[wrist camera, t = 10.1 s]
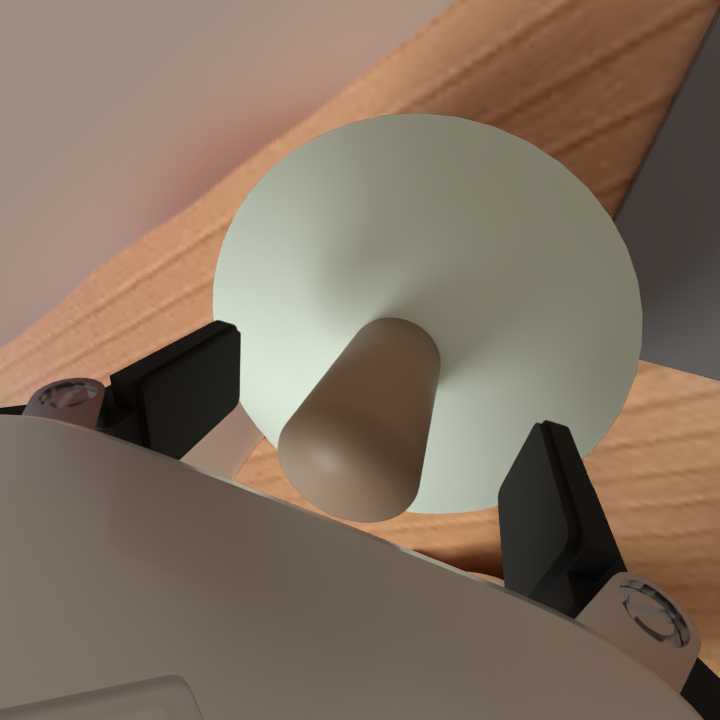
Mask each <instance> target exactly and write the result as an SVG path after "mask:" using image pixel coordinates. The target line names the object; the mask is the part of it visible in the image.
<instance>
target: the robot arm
mask: <svg viewBox="0 0 720 720" xmlns="http://www.w3.org/2000/svg"><path fill="white" fill-rule="evenodd" d="M240 357H241V333H240V331H239V330H237V327H236V326H235V325H234V324H231V323H227V322H224V321H221V320H216V321H214V322H212V323H210V324H208V325H206V326H204V327H202V328H200V329H198V330H196V331H194V332H193V333H191V334H189V335H187V336H185V337H183V338H181V339H179V340H177V341H175V342H173V343H172V344H170V345H168V346H166V347H164V348H162V349H160V350H158V351H156V352H154V353H152V354H151V355H149V356H147V357H145V358H143V359H141V360H139V361H137V362H135V363H133V364H131V365H130V366H128V367H126V368H124V369H122V370H120V371H118V372H116V373H114V374H112V375H110V380H111V385H109V386H108V387H106V388H105V386H104V385H103V384H102V383H101V382H99V381H97V380H94V379H89V378H71V379H64V380H60V381H56V382H53V383H51V384H48V385H46V386H43V387H42V388H40V389H39V390H37V391H36V392H35V393H34V394H33V395H32V397H31V398H30V400H29V402H28V404H27V405H21V406H12V407H4V408H0V720H720V678H719V677H718V676H717V675H716V674H715V673H714V672H713V671H712V670H710V669H709V668H708V667H707V666H706V665H705V664H704V663H703V662H702V661H701V660H700V659H699V658H698V655H699V652H700V645H701V641H700V638H699V635H698V631H697V629H696V627H695V625H694V624H693V622H692V620H691V619H690V617H689V616H688V614H687V613H686V612H685V611H684V609H683V608H682V607H681V606H680V604H679V603H678V602H677V601H676V600H675V599H673V598H672V597H671V596H670V595H669V594H668V593H667V592H666V591H665V590H663V589H662V588H661V587H659V586H658V585H656V584H655V583H654V582H652V581H650V580H648V579H646V578H644V577H642V576H640V575H637V574H634V573H630V572H627V569H626V567H625V564H624V562H623V559H622V557H621V554H620V552H619V549H618V547H617V544H616V542H615V539H614V537H613V534H612V532H611V529H610V527H609V524H608V522H607V519H606V517H605V514H604V512H603V509H602V507H601V504H600V502H599V499H598V497H597V494H596V492H595V489H594V488H593V486H592V484H591V482H590V479H589V477H588V474H587V472H586V469H585V467H584V464H583V462H582V459H581V457H580V454H579V452H578V449H577V447H576V444H575V442H574V439H573V437H572V434H571V432H570V429H569V428H568V427H567V426H565V425H561V424H558V423H555V422H552V421H548V420H545V421H543V422H542V424H541V423H538V422H537V423H535V424H534V426H533V428H532V429H531V431H530V433H529V435H528V437H527V439H526V441H525V442H524V444H523V446H522V448H521V450H520V452H519V453H518V455H517V457H516V459H515V461H514V463H513V465H512V466H511V468H510V470H509V472H508V474H507V476H506V477H505V479H504V481H503V483H502V485H501V487H500V489H499V493H498V510H499V523H500V535H501V548H502V560H503V573H504V586H505V587H502V586H500V585H497V584H495V583H492V582H490V581H488V580H485V579H483V578H480V577H478V576H475V575H473V574H470V573H468V572H465V571H463V570H460V569H458V568H456V567H453V566H451V565H448V564H446V563H443V562H441V561H438V560H435V559H433V558H430V557H428V556H425V555H423V554H420V553H418V552H415V551H412V550H410V549H407V548H405V547H402V546H400V545H397V544H395V543H392V542H389V541H387V540H384V539H382V538H379V537H377V536H374V535H372V534H369V533H367V532H364V531H361V530H359V529H356V528H354V527H351V526H349V525H346V524H343V523H341V522H338V521H336V520H333V519H331V518H328V517H325V516H323V515H320V514H318V513H315V512H312V511H310V510H307V509H305V508H302V507H299V506H297V505H294V504H292V503H289V502H287V501H284V500H281V499H279V498H276V497H273V496H271V495H268V494H266V493H263V492H260V491H258V490H255V489H253V488H250V487H247V486H245V485H242V484H240V483H237V482H234V481H232V480H229V479H226V478H224V477H221V476H219V475H216V474H213V473H211V472H208V471H205V470H203V469H200V468H197V467H195V466H192V465H189V464H187V463H184V462H182V461H179V460H180V459H181V458H183V457H184V456H185V455H186V454H187V453H188V452H189V451H190V450H191V449H192V448H193V447H194V446H195V445H196V444H197V443H199V442H200V441H201V440H202V439H203V438H204V437H205V436H206V435H207V434H208V433H209V432H210V431H211V430H212V429H214V428H215V427H216V426H217V425H218V424H219V423H220V422H221V421H222V420H223V419H224V418H225V417H226V416H227V415H228V414H230V413H231V412H232V411H233V410H234V409H235V408H236V406H237V405H238V403H239V399H240Z"/></svg>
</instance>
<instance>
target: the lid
mask: <svg viewBox="0 0 720 720" xmlns="http://www.w3.org/2000/svg"><path fill="white" fill-rule="evenodd" d="M213 317H214V321H216V320H221V321H224V322H227V323H231V324H234V325H235V326H236V327H237V330H239V331H240V333H241V357H240V399H239V401H240V402H241V404H242V406H243V408H244V409H245V411H246V412H247V414H248V415H249V417H250V418H251V419H252V421H253V422H254V423H255V425H256V426H257V428H258V429H259V430H260V431H261V432H262V433H263V434H264V436H265V437H266V438H267V439H268V440H269V441H270V442H271V443H272V444H273V445H274V446H275V447H276V448H277V449H278V456H279V461H280V464H281V467H282V469H283V472H284V474H285V475H286V477H287V479H288V480H289V482H290V483H291V485H292V486H293V487H294V488H295V489H296V490H297V492H298V493H299V494H300V495H301V496H303V497H304V498H305V499H306V500H307V501H309V502H310V503H311V504H313V505H314V506H316V507H317V508H319V509H321V510H322V511H324V512H326V513H328V514H331V515H333V516H335V517H338V518H341V519H345V520H349V521H355V522H366V523H370V522H380V521H385V520H388V519H392V518H394V517H396V516H398V515H400V514H401V513H403V512H404V511H408V512H415V513H432V514H448V513H463V512H470V511H476V510H482V509H488V508H492V507H495V506H498V493H499V489H500V487H501V485H502V483H503V481H504V479H505V477H506V476H507V474H508V472H509V470H510V468H511V466H512V465H513V463H514V461H515V459H516V457H517V455H518V453H519V452H520V450H521V448H522V446H523V444H524V442H525V441H526V439H527V437H528V435H529V433H530V431H531V429H532V428H533V426H534V424H535V423H537V422H538V423H541V424H542V422H543V421H545V420H548V421H552V422H555V423H558V424H561V425H565V426H567V427H568V428H569V429H570V432H571V434H572V437H573V439H574V442H575V444H576V447H577V449H578V452H579V454H580V457H581V459H583V458H585V457H586V456H587V455H588V454H589V453H590V452H591V451H592V450H593V449H594V448H595V447H596V446H597V444H598V443H599V442H600V440H601V439H602V438H603V437H604V435H605V434H606V433H607V432H608V430H609V429H610V428H611V426H612V425H613V423H614V421H615V419H616V418H617V416H618V414H619V412H620V411H621V409H622V407H623V405H624V404H625V402H626V399H627V397H628V394H629V391H630V389H631V386H632V383H633V381H634V378H635V375H636V371H637V366H638V361H639V356H640V351H641V346H642V317H643V313H642V306H641V299H640V292H639V285H638V280H637V277H636V274H635V271H634V267H633V264H632V261H631V258H630V255H629V252H628V249H627V247H626V245H625V243H624V241H623V239H622V237H621V236H620V234H619V232H618V230H617V228H616V226H615V224H614V222H613V221H612V219H611V217H610V216H609V214H608V213H607V212H606V210H605V209H604V208H603V206H602V205H601V204H600V203H599V201H598V200H597V199H596V197H595V196H594V195H593V194H592V192H591V191H590V190H589V188H588V187H587V186H585V185H584V184H583V183H582V182H581V181H580V180H579V179H578V178H577V177H576V176H575V175H574V174H572V173H571V172H570V171H569V170H568V169H567V168H566V167H565V166H564V165H563V164H562V163H560V162H559V161H557V160H556V159H554V158H553V157H551V156H550V155H548V154H547V153H545V152H544V151H542V150H541V149H539V148H538V147H536V146H534V145H533V144H531V143H530V142H528V141H526V140H524V139H521V138H519V137H517V136H515V135H512V134H510V133H508V132H506V131H503V130H501V129H499V128H496V127H494V126H491V125H487V124H483V123H479V122H475V121H472V120H468V119H464V118H460V117H455V116H444V115H434V114H423V113H415V114H400V115H384V116H380V117H375V118H371V119H366V120H362V121H357V122H353V123H349V124H347V125H344V126H342V127H339V128H337V129H334V130H332V131H329V132H327V133H324V134H322V135H319V136H318V137H316V138H314V139H313V140H311V141H309V142H308V143H306V144H304V145H302V146H301V147H299V148H297V149H296V150H294V151H292V152H291V153H290V154H289V155H288V156H286V157H285V158H284V159H283V160H281V161H280V162H279V163H278V164H277V165H275V166H274V167H273V168H272V169H271V170H269V171H268V173H267V174H266V175H265V176H264V177H263V178H262V179H261V180H260V182H259V183H258V184H257V185H256V186H255V187H254V188H253V189H252V190H251V192H250V193H249V195H248V196H247V198H246V199H245V201H244V202H243V204H242V205H241V207H240V208H239V210H238V211H237V213H236V215H235V217H234V219H233V221H232V223H231V225H230V227H229V230H228V232H227V234H226V236H225V238H224V242H223V245H222V248H221V251H220V255H219V258H218V261H217V267H216V273H215V279H214V286H213Z"/></svg>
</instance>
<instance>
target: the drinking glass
mask: <svg viewBox="0 0 720 720" xmlns="http://www.w3.org/2000/svg"><path fill="white" fill-rule="evenodd" d="M263 438H264V434H263V433H262V432H261V431H260V430H259V429H258V428H257V426H256V425H255V423H254V422H253V421H252V419H251V418H250V417H249V415H248V414H247V412H246V411H245V409H244V408H243V406H242V404H241V402H240V401H239V403H238V405H237V406H236V408H235V409H234V410H233V411H232V412H231V413H230V414H228V415H227V416H226V417H225V418H224V419H223V420H222V421H221V422H220V423H219V424H218V425H217V426H216V427H215V428H214V429H212V430H211V431H210V432H209V433H208V434H207V435H206V436H205V437H204V438H203V439H202V440H201V441H200V442H199V443H197V444H196V445H195V446H194V447H193V448H192V449H191V450H190V451H189V452H188V453H187V454H186V455H185V456H184V457H183V458H181V459H180V460H179V461H182V462H184V463H187V464H189V465H192V466H195V467H197V468H200V469H203V470H205V471H208V472H211V473H213V474H216V475H219V476H221V477H224V478H226V479H229V480H232V481H233V480H234V479H235V477H236V476H237V474H238V473H239V471H240V470H241V468H242V467H243V465H244V464H245V462H246V461H247V459H248V458H249V457H250V455H251V454H252V452H253V451H254V450H255V449H256V447H257V446H258V445H259V444H260V443H261V441H262V440H263Z"/></svg>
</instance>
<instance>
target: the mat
mask: <svg viewBox="0 0 720 720" xmlns="http://www.w3.org/2000/svg"><path fill="white" fill-rule="evenodd" d="M613 222H614V224H615V226H616V228H617V230H618V232H619V234H620V236H621V237H622V239H623V241H624V243H625V245H626V247H627V249H628V252H629V255H630V258H631V261H632V264H633V267H634V271H635V274H636V277H637V280H638V285H639V292H640V299H641V306H642V313H643V317H642V346H641V351H640V356H639V359H640V360H644V361H647V362H651V363H655V364H659V365H662V366H666V367H670V368H674V369H677V370H681V371H685V372H689V373H692V374H696V375H700V376H703V377H707V378H711V379H715V380H718V381H720V8H719V10H718V12H717V14H716V16H715V18H714V20H713V22H712V24H711V26H710V28H709V30H708V32H707V34H706V36H705V38H704V40H703V42H702V44H701V46H700V48H699V50H698V52H697V54H696V56H695V58H694V60H693V62H692V64H691V66H690V68H689V70H688V72H687V74H686V76H685V78H684V80H683V82H682V84H681V86H680V88H679V90H678V92H677V94H676V96H675V98H674V100H673V102H672V104H671V106H670V108H669V110H668V112H667V114H666V116H665V118H664V120H663V122H662V124H661V126H660V128H659V130H658V132H657V134H656V136H655V138H654V140H653V142H652V144H651V146H650V148H649V150H648V152H647V154H646V156H645V158H644V160H643V162H642V164H641V166H640V168H639V170H638V172H637V174H636V176H635V178H634V180H633V182H632V184H631V186H630V188H629V190H628V192H627V194H626V196H625V198H624V200H623V202H622V204H621V206H620V208H619V210H618V212H617V214H616V216H615V218H614V220H613Z"/></svg>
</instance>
